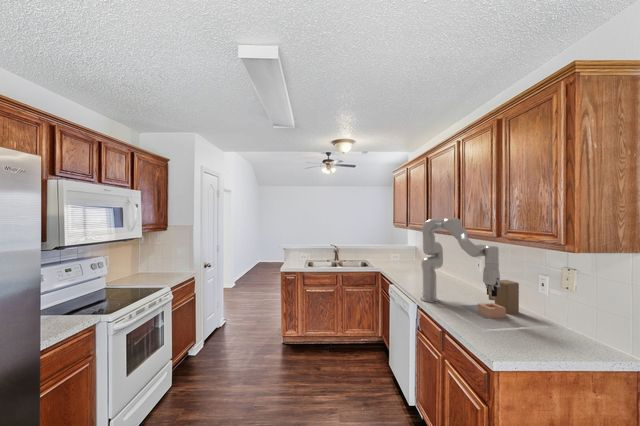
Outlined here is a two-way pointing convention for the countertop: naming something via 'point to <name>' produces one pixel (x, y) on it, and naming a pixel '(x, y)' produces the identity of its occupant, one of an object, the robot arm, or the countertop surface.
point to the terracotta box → (491, 310)
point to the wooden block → (508, 296)
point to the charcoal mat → (475, 310)
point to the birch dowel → (491, 293)
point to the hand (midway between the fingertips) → (491, 295)
